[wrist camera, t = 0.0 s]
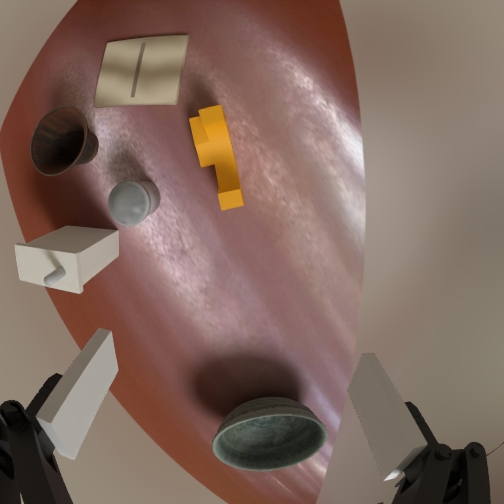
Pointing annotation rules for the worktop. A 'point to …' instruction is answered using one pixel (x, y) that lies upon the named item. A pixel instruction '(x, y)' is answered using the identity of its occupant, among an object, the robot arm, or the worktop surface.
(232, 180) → the yellow shaft support bracket
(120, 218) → the grey knob
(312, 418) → the bowl
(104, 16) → the worktop surface
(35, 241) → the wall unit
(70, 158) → the cup
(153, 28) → the worktop surface
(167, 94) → the board
